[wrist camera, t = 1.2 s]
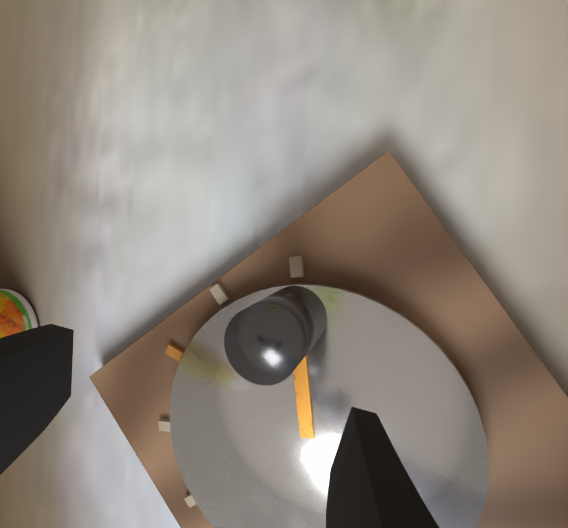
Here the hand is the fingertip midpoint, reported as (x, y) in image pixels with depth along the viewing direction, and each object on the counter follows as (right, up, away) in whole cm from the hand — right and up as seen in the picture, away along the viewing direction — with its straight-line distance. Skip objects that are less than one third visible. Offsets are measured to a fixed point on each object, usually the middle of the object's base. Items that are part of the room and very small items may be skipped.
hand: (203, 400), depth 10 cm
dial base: (+4, -5, +12) cm, 13 cm away
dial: (+3, -5, +10) cm, 12 cm away
